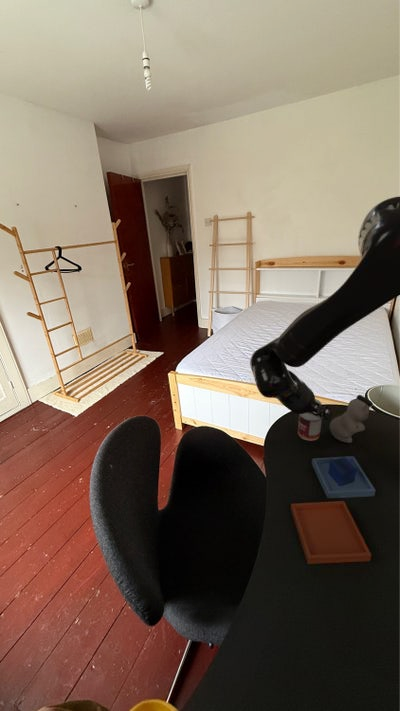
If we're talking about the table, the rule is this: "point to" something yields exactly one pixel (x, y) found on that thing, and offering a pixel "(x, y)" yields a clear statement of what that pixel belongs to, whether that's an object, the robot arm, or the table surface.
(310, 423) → the pill bottle
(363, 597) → the table surface
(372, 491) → the blue tray
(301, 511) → the terracotta tray
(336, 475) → the blue block
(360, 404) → the figurine
